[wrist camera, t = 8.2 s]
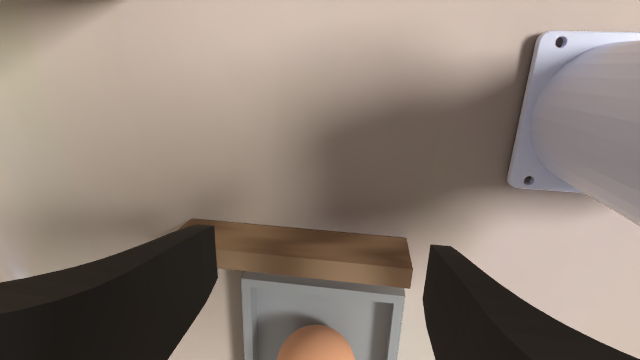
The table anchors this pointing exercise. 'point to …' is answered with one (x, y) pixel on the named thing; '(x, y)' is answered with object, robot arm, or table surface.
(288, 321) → the dish
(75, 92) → the table surface
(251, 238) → the rail
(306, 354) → the ball
